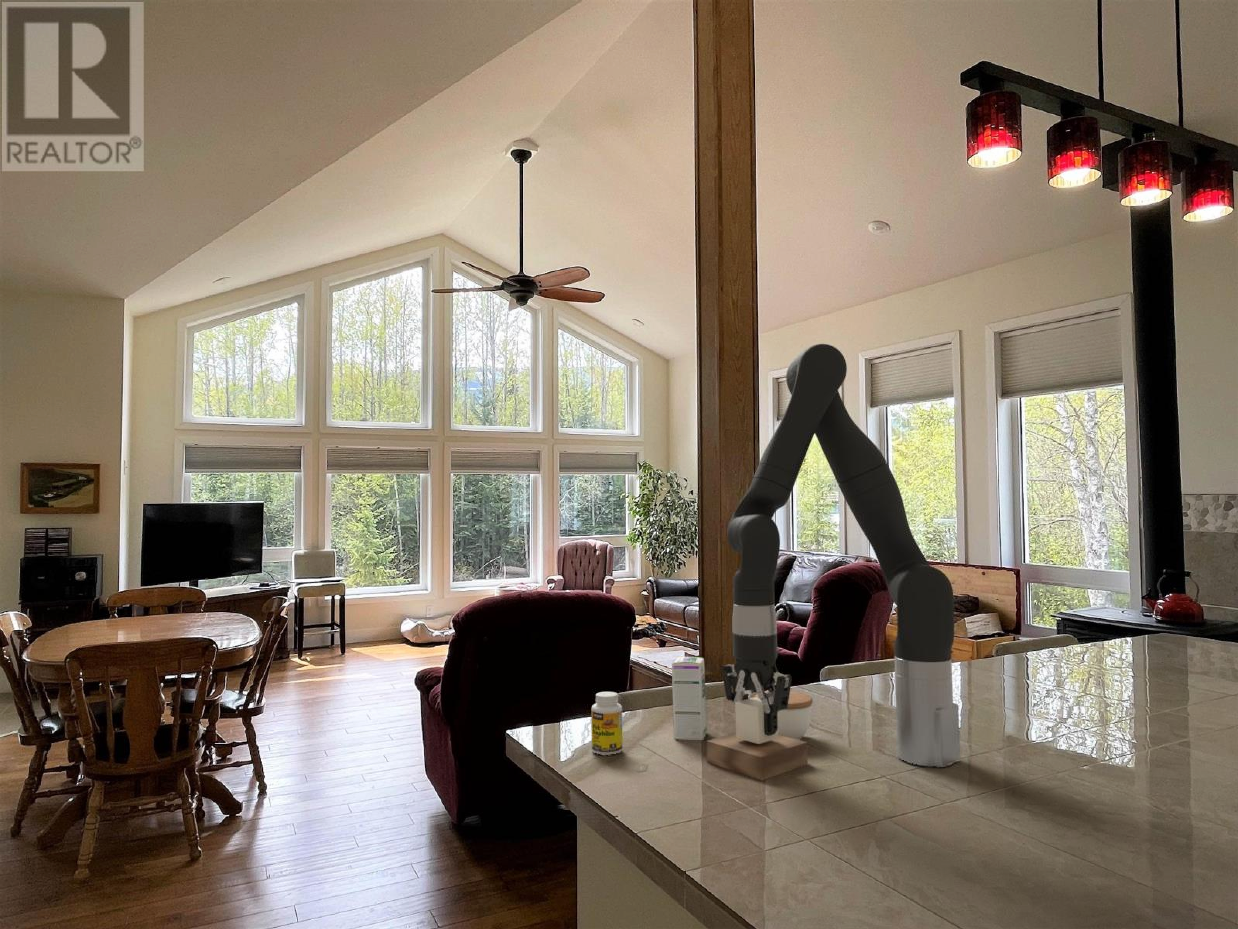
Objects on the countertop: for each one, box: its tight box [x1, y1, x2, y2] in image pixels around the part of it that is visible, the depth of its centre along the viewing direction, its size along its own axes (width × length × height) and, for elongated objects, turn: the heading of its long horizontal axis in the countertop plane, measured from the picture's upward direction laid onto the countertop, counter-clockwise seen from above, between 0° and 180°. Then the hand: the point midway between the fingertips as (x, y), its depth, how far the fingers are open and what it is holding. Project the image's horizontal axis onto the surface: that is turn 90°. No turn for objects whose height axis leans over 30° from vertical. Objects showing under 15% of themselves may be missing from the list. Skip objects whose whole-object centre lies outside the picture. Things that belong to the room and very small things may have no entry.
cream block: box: [734, 696, 778, 744], centre depth 134 cm, size 5×5×6 cm
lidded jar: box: [754, 690, 813, 741], centre depth 148 cm, size 11×11×9 cm
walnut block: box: [706, 732, 809, 781], centre depth 134 cm, size 12×12×4 cm
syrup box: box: [671, 656, 708, 741], centre depth 151 cm, size 6×6×14 cm
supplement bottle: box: [590, 691, 623, 756], centre depth 141 cm, size 6×6×10 cm
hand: (756, 730), depth 134 cm, fingers open, 5 cm apart
